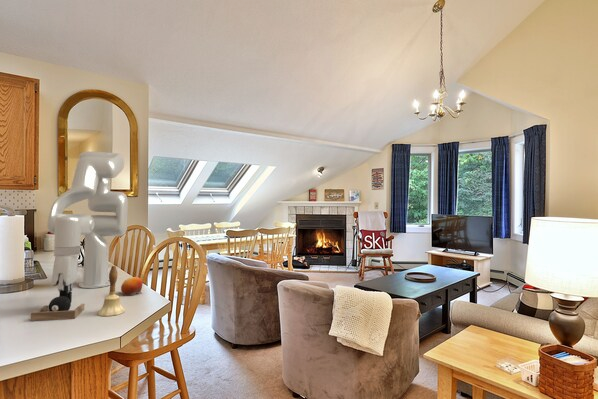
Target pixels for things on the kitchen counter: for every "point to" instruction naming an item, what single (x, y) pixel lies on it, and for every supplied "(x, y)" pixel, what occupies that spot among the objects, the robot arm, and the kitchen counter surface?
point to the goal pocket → (55, 314)
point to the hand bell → (112, 298)
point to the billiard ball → (59, 304)
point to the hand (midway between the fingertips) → (65, 303)
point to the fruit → (132, 286)
